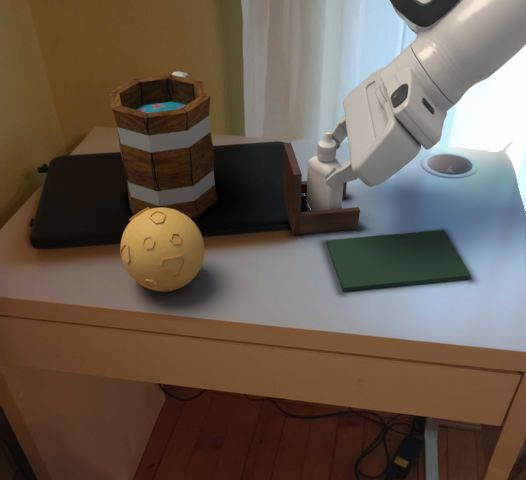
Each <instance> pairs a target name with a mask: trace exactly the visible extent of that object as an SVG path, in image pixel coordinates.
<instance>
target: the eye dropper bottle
mask: <svg viewBox="0 0 526 480" xmlns="http://www.w3.org/2000/svg"><path fill="white" fill-rule="evenodd" d="M330 133H331V132H330V131H325V132H324V135H323V139H321V140H319V141H318V142H317V146H316V147H317V149H316V152H317V154H316V155H313V156H312V157H310V158H309V159H308V160H307V161H308V162H307V172H306V173H307V174H306V181H307V197H306V200H307V202H308V204H309V206H310V208H311V210H310V208H309V207H308V206H307V204H306V203H305V207H306V210H307V212H308V211H320V210H331V209H342V207H343V199H342V196H343V184H342V185H341V186H340V187H339V188H337V189H336V190H333V189H331V188H330V187H329V186H328V185H327V184H326V175H327V174H328V173H330V171H331V170H333V169H334V168H336V169H339V168H341V167H342V165H341V163H340V162H339V161H338V159H336V158H337V157H336V156H337V150H336V142H335V141H334V140H331V134H330Z"/></svg>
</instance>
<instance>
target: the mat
mask: <svg viewBox="0 0 526 480" xmlns="http://www.w3.org/2000/svg"><path fill="white" fill-rule="evenodd" d="M325 244H326V247H327V250H328V254H329V256H330V259H331V262H332V264H333V268H334V270H335V273H336V276H337V278H338V283H339V285H340V287H341V291H342V292H351V291H352V292H353V291H361V290H371V289H380V288H381V289H382V288H392V287H402V286H411V285H412V286H413V285H421V284H430V283H431V284H433V283H442V282H452V281H461V280H470V279H471V277H472V275H471V273H470V271H469V270H468V268H467V266H466V264H465V263H464V261H463V259H462V258H461V256H460V254H459V253H458V251H457V249H456V248H455V246H454V244H453V243H452V241H451V239H450V237H449V236H448V234H447V232H446V231H445V229H437V230H436V229H433V230H423V231H415V232H413V231H412V232H404V233H393V234H392V233H391V234H382V235H371V236H360V237H349V238H347V237H346V238H337V239H327V240H326V241H325Z"/></svg>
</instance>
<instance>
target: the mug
mask: <svg viewBox="0 0 526 480" xmlns="http://www.w3.org/2000/svg"><path fill="white" fill-rule="evenodd" d="M108 94H109V95H108V96H109V99H110V105H111V109H112V113H113V116H114V120H115V123H116V127H117V134H118V146H119V151H120V156H121V161H122V166H123V169H124V172H125V175H126V179H127V180H126V181H127V194H128V200H129V205H130V210H131V213H132V214H134V215H136V214H137V213H139V212H140V211H142V210H143V209H146V208H148V207H149V208H150V209H152V208H170V209H174V210H177V211H179V212H183V214H185V215H186V216H188V217H189V218H190V219H191V218H192V219H194V218H198V217H199V216H201V215H202V214H203V213H204V212H205V211H207V209H209V208H210V207H211V206H212V205H214V204H215V203H216V202H217V201H218V200H219V198H218V194H217V192H218V191H217V189H216V183H215V181H216V180H215V170H214V169H215V168H214V167H215V149H214V143H213V138H212V132H211V121H210V108H211V107H210V105H211V104H210V103H211V96H210V94H209V91H208V90H207V88H206V86H205V83H204V82H203V81H202V80H197V79H192V78H190V76H189V74H188V73H187V72H183V71H178V70H177V71H173V72H172V73H171V74H165V75H156V76H149V77H139V78H134V79H131V80H130V81H128V82H126V83H124V84H122V85H121V86H119V87H116V88H115V89H114V90H112V91H110V92H108ZM215 194H216V195H215ZM210 198H211V199H210ZM209 199H210V200H209ZM203 204H204V205H203ZM199 207H200V208H199ZM198 208H199V209H198ZM197 209H198V210H197ZM194 210H196V211H194ZM187 211H190V212H187Z"/></svg>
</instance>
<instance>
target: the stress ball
mask: <svg viewBox="0 0 526 480" xmlns="http://www.w3.org/2000/svg"><path fill="white" fill-rule="evenodd" d="M119 250H120V251H119V252H120V258H121V261H122V264H123V266H124V269H125V270H126V272H127V274H129V276H130V277H131V278H132V279H133V280H134V281H135V282H136V283H138V285H140V286H142V287H144V288H146V289H149V290H152V291H156V292H172V291H176V290H178V289H181V288H183V287H185V286H186V285H188V284H189V283H191V282H192V280H194V279H195V277H196V276H197V275H198V274H199V272H200V270H201V268H202V266H203V263H204V260H205V242H204V239H203V235H202V233H201V231H200V229H199V227H198V226H197V224H196V223H195V221H194V220H192V219H191V218H189V217H188V216H186V215H185V214H183V213H181V212H179V211H177V210H174V209H170V208H152V209H150V208H149V207H148V208H146V209H143V210H142V211H140V212H139V213H137V214H134V215H132V216H131V217H130V218H129V223H128V224H127V225H126V227H125V228H124V230H123V233H122V235H121V240H120V249H119Z"/></svg>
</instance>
